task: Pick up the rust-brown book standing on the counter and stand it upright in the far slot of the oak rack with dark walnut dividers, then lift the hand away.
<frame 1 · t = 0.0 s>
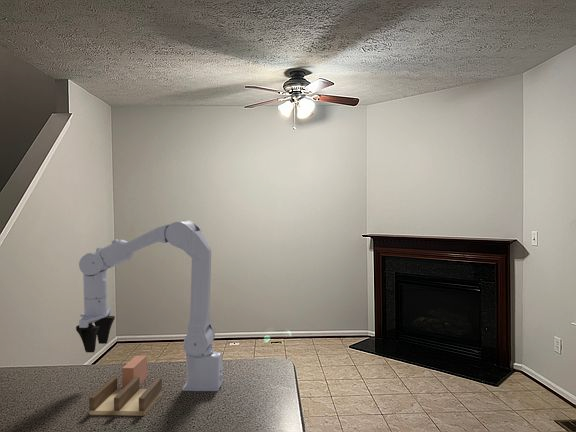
hand: (96, 347, 130), 10 cm above the countertop, tool pointing down, fingers open, 7 cm apart
book: (135, 383, 131), on the countertop
book rack: (127, 403, 118), on the countertop
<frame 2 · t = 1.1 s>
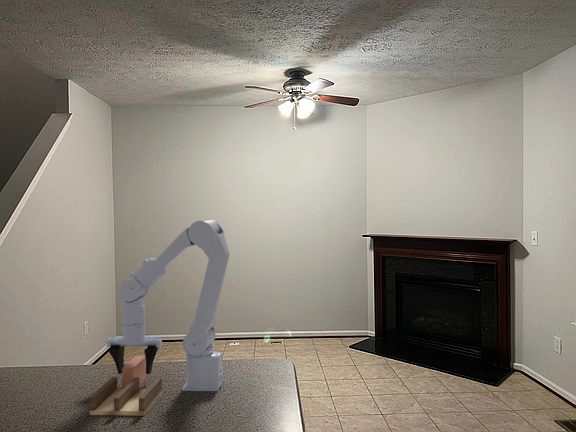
hand: (134, 372, 131), 3 cm above the countertop, tool pointing down, fingers open, 7 cm apart
nothing on the countertop moved.
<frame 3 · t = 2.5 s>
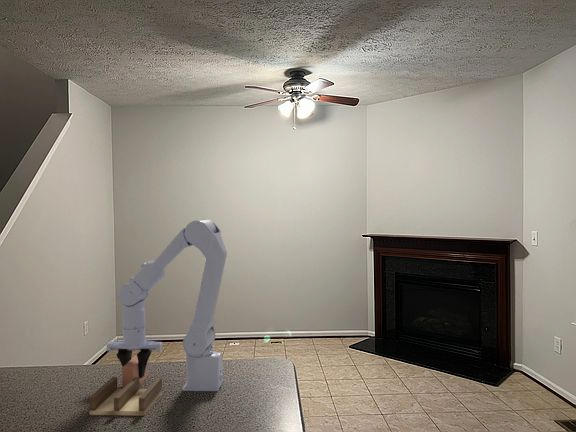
hand: (135, 376, 131), 2 cm above the countertop, tool pointing down, fingers closed on book, 3 cm apart
book: (135, 383, 131), on the countertop, touching gripper
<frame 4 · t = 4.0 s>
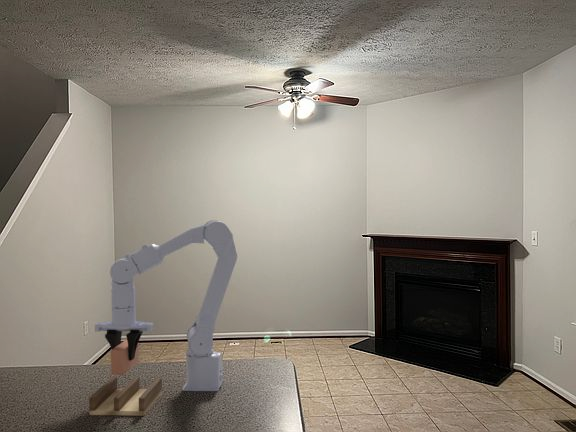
hand: (124, 359, 124), 9 cm above the countertop, tool pointing down, fingers closed on book, 3 cm apart
book: (125, 367, 124), point 6 cm above the countertop, touching gripper
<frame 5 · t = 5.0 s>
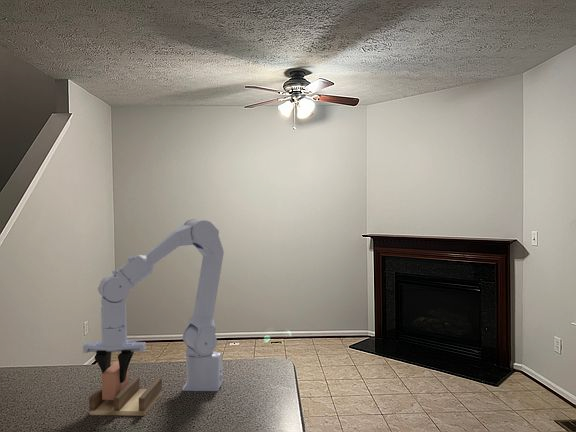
hand: (115, 381, 118), 5 cm above the countertop, tool pointing down, fingers closed on book, 3 cm apart
book: (116, 391, 118), point 3 cm above the countertop, touching gripper
when the fingers open (5 cm above the countertop, at t = 5.8 s): book stays where it is, resting on book rack.
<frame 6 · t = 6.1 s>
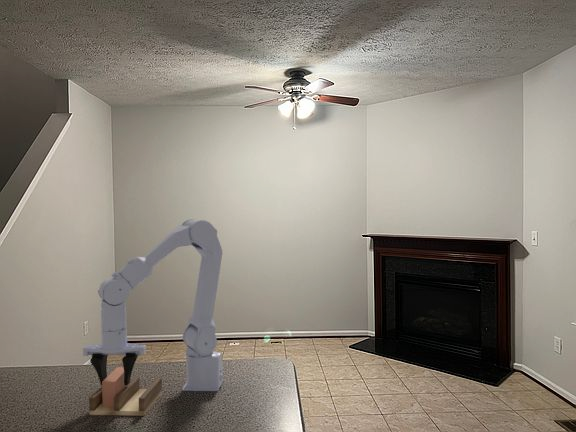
hand: (115, 384, 118), 5 cm above the countertop, tool pointing down, fingers open, 5 cm apart
book: (116, 398, 118), point 1 cm above the countertop, touching book rack
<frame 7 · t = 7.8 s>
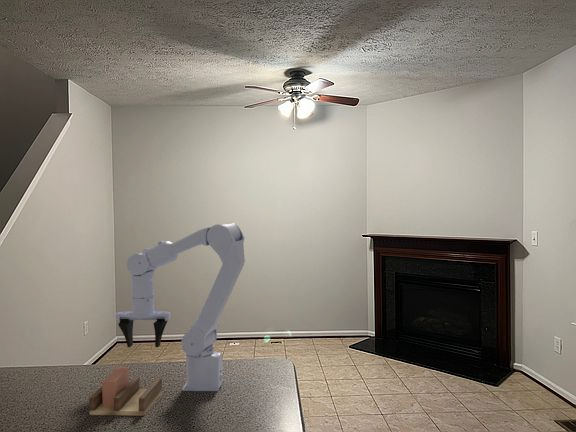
hand: (144, 346, 132), 9 cm above the countertop, tool pointing down, fingers open, 7 cm apart
nothing on the countertop moved.
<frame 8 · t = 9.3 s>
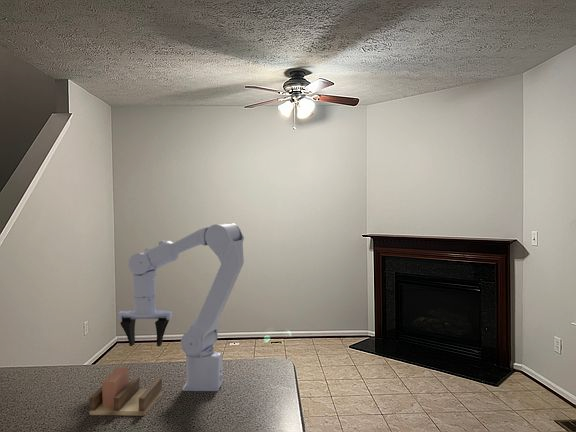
hand: (145, 345, 133), 9 cm above the countertop, tool pointing down, fingers open, 7 cm apart
nothing on the countertop moved.
at the end: book 0.4 cm from the target spot on the book rack, point 1.0 cm above the book rack's base; book tilted 0°; the gripper is holding nothing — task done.
